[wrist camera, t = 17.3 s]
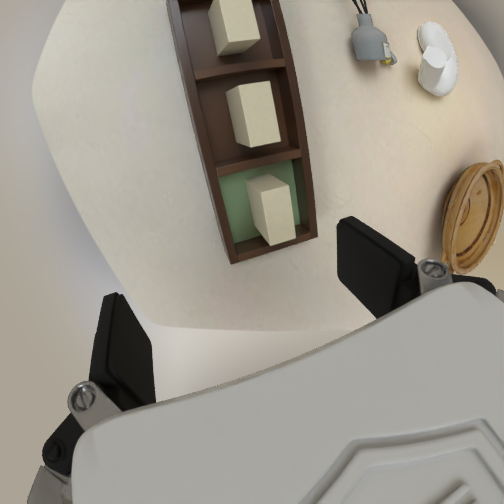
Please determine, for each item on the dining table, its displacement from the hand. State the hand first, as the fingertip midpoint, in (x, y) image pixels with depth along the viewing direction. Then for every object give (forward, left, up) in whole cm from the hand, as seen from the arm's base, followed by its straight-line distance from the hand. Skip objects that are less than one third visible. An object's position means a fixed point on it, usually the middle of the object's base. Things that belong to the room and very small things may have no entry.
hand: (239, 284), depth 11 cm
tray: (+7, +6, -22) cm, 24 cm away
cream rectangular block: (+7, -5, -21) cm, 23 cm away
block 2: (+7, +6, -22) cm, 23 cm away
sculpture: (+41, +14, -22) cm, 49 cm away
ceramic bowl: (+50, -16, -22) cm, 57 cm away
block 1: (+7, +16, -22) cm, 28 cm away
